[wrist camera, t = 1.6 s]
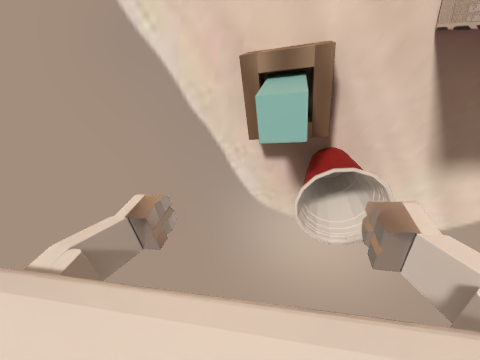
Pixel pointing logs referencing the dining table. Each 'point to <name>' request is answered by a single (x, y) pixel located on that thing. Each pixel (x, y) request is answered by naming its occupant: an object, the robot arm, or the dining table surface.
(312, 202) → the plastic cup
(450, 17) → the candy bar box
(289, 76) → the teal peg
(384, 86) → the dining table surface
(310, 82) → the pocket block
